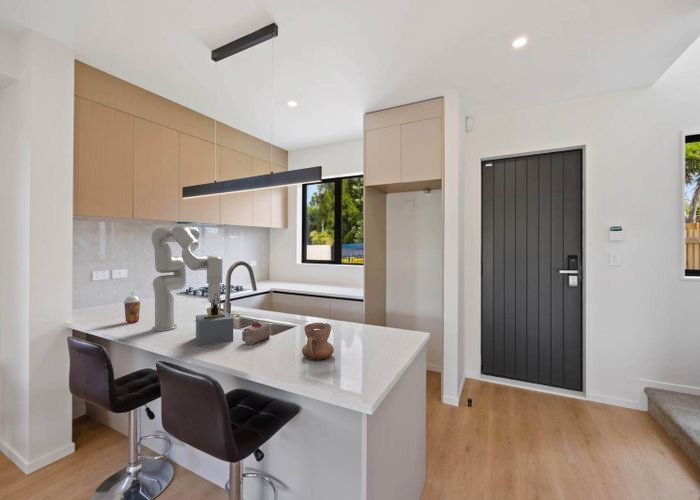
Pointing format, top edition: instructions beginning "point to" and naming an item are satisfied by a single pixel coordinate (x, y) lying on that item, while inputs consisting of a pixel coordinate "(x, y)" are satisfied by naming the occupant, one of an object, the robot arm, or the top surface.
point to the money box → (214, 329)
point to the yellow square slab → (213, 315)
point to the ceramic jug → (317, 341)
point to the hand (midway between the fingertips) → (214, 314)
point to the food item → (256, 333)
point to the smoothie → (132, 308)
